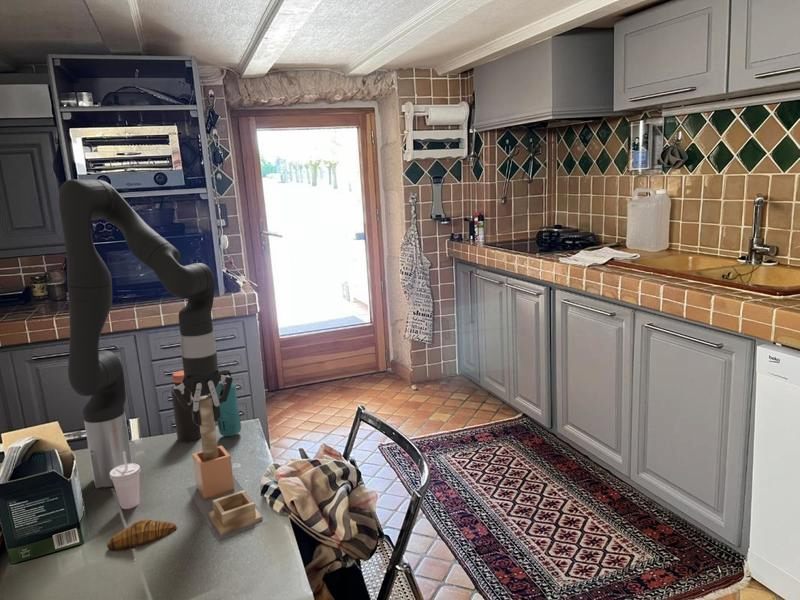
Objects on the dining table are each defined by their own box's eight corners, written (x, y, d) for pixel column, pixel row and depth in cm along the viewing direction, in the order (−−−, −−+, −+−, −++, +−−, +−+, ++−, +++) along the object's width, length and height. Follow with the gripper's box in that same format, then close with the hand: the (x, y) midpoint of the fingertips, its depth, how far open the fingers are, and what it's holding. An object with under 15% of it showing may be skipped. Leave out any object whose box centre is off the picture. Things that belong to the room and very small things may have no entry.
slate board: (218, 544, 118) (218, 540, 118) (187, 492, 140) (186, 488, 140) (269, 525, 124) (269, 521, 124) (232, 477, 146) (231, 474, 145)
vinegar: (206, 435, 172) (198, 371, 168) (187, 444, 166) (179, 378, 162) (191, 431, 175) (183, 368, 171) (172, 439, 170) (163, 375, 166)
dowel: (206, 466, 135) (198, 402, 131) (202, 461, 137) (195, 397, 134) (220, 462, 136) (213, 398, 133) (216, 457, 139) (209, 394, 136)
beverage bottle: (245, 431, 173) (238, 367, 169) (237, 441, 167) (229, 375, 163) (224, 431, 174) (217, 368, 170) (215, 441, 167) (207, 375, 163)
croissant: (106, 561, 115) (102, 539, 114) (109, 542, 122) (105, 521, 121) (178, 542, 120) (175, 520, 119) (177, 525, 127) (174, 504, 126)
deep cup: (204, 500, 134) (200, 464, 132) (196, 488, 139) (192, 453, 138) (234, 490, 137) (230, 455, 136) (225, 479, 143) (221, 445, 141)
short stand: (220, 535, 120) (218, 518, 119) (208, 515, 127) (206, 500, 127) (262, 519, 125) (260, 503, 124) (248, 501, 132) (246, 486, 131)
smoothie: (134, 516, 130) (125, 459, 127) (109, 514, 132) (99, 458, 129) (151, 501, 136) (143, 446, 134) (127, 499, 138) (118, 445, 135)
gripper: (225, 342, 138) (231, 410, 142) (162, 354, 131) (171, 425, 134) (234, 349, 132) (241, 420, 136) (170, 361, 125) (179, 436, 128)
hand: (206, 422), depth 135 cm, fingers closed on dowel, 3 cm apart
